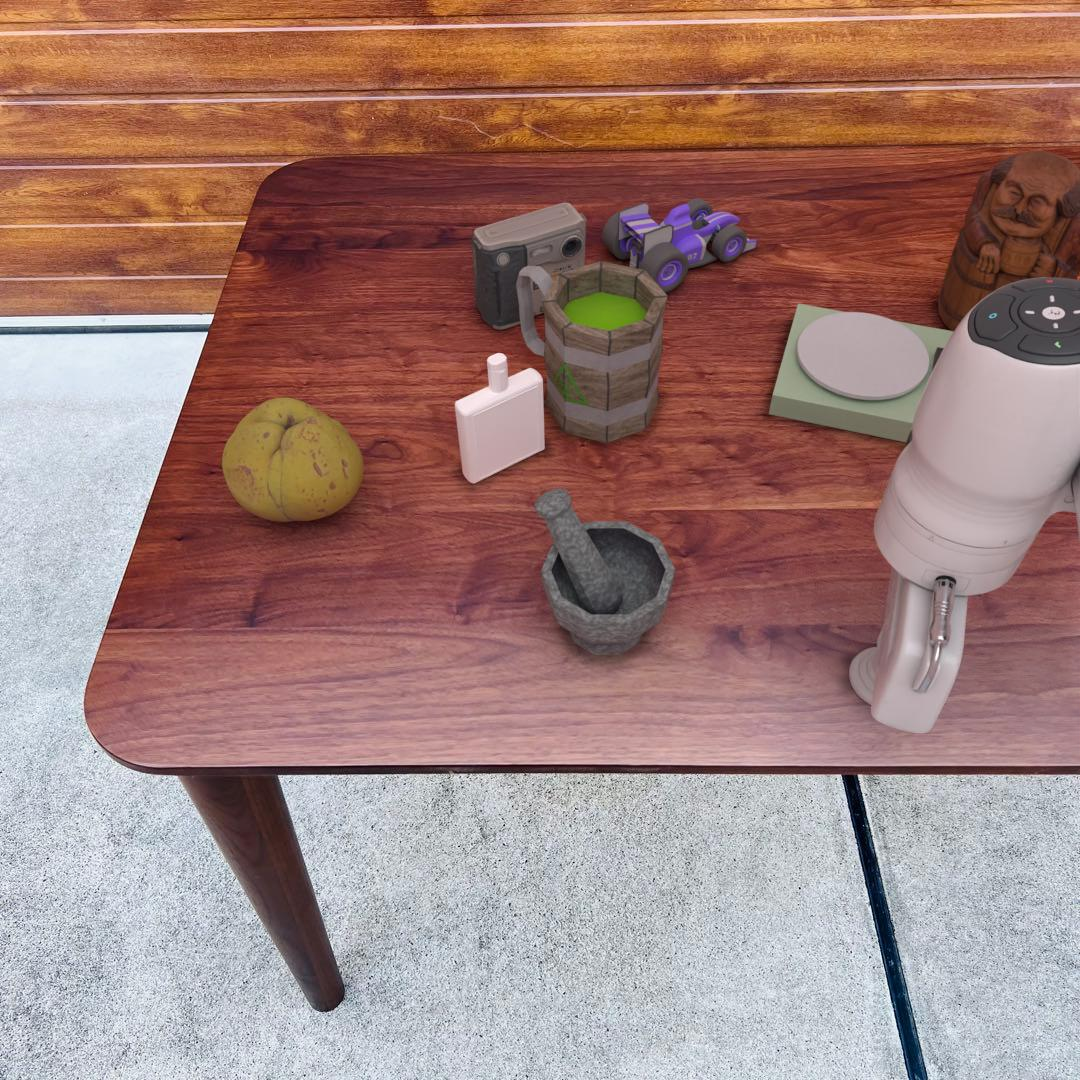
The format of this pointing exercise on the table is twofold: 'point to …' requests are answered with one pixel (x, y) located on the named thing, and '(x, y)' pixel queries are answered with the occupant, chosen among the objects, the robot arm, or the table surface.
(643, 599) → the mortar and pestle
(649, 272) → the toy race car
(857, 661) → the chess piece
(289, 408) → the fruit
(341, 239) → the table surface
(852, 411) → the scale
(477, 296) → the camera
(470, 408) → the perfume bottle
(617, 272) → the mug
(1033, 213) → the wooden figurine
